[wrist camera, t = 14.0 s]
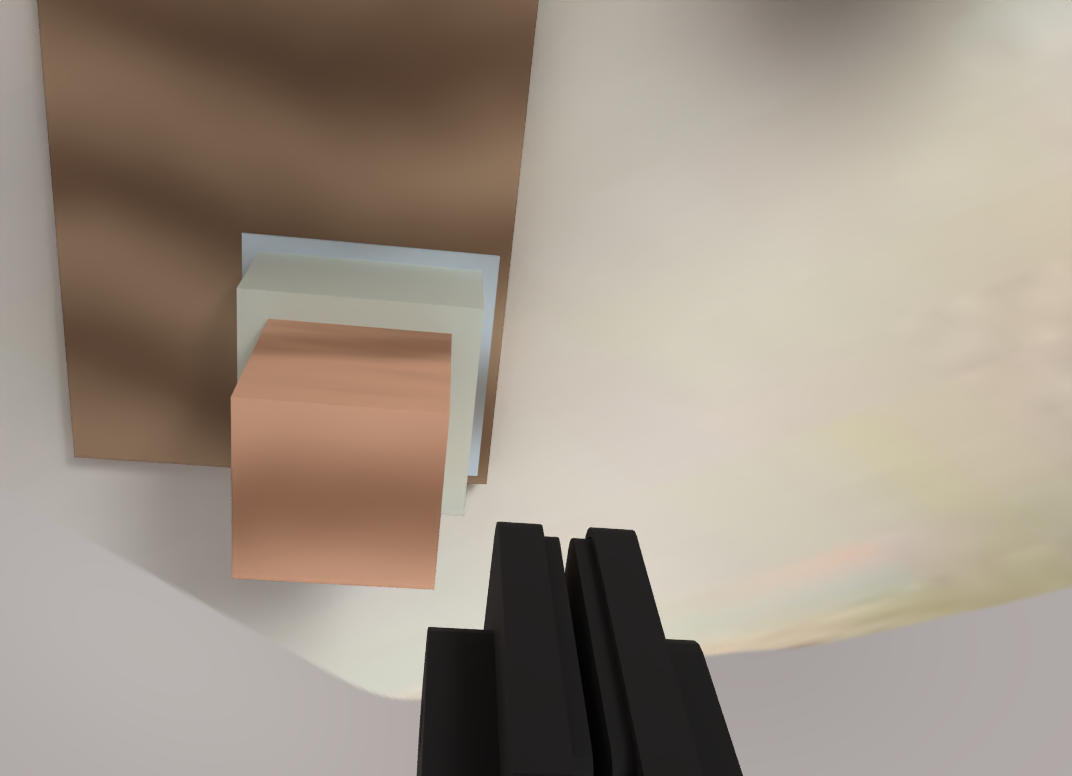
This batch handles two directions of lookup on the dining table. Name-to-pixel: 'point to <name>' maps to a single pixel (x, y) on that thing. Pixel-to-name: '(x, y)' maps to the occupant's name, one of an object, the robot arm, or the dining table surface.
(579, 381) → the dining table surface
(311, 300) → the base block
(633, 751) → the robot arm
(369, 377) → the top block
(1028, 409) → the dining table surface
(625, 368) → the dining table surface
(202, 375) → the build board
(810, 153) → the dining table surface
